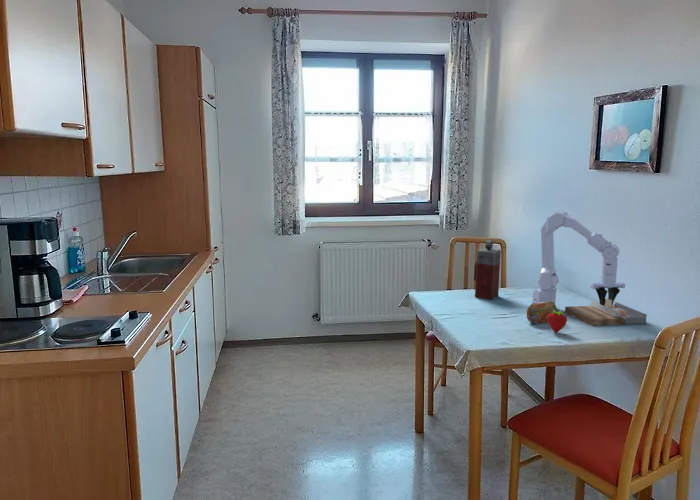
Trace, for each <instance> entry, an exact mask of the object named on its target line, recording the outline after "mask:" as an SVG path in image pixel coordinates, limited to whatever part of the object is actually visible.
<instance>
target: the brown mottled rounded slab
mask: <svg viewBox="0 0 700 500" xmlns="http://www.w3.org/2000/svg"><path fill="white" fill-rule="evenodd" d="M557 308H558V307H557V305H556V303H555V304H554V303H553V302H548V301H545V302H539V303H533V304H532V303H531V304H530V305H529V306H528V307H527V309H526V319H527V321H528V322H529V323H531V324H535V325H539V324H545V323H548V321H547V315H548V314H550V313H553V312H550V311H556V312H558V310H557Z"/></svg>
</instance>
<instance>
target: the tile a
mask: <svg viewBox="0 0 700 500" xmlns="http://www.w3.org/2000/svg"><path fill="white" fill-rule="evenodd" d="M611 308H614V309H616V310H618V311H620V316H622V317H625V316H626V313H627V311H625V310H623V309H620V308H615V307H611Z"/></svg>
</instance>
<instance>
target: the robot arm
mask: <svg viewBox="0 0 700 500" xmlns="http://www.w3.org/2000/svg"><path fill="white" fill-rule="evenodd" d="M561 227H563V228H570V229H572V230H574V231H575V232H576V233H578V234H580V235H581V236H582V237H583V238H585V239H586V240H587V241H586V243H587V244H588V245H589V246H591V247H592V248H593V249H595V250H596V251H597V252H598V253H601V256H602V257H603V259H602V264H601V276H600V281H599V282H593V283H590V289H592V290H595V291H596V293H597V296H598V299H599V301H598V302H599V303H600V304H601V305H604V304H605V298H608V299H611V300H612V304H611V305H613V304H614V303H615V299H616V298H617V296H618V294H619V293H620V292H621V290H620V288H621V289H625V288H626V283H624V282H617V274H618V273H617V271H618V260H619V259H618V256H619V255H620V248H619V246H618V245H617V244H614V243H613V242H612V241H609V240H608V239H606V238H605V237H603V234H602V233H598V232H592V231H591V230H589V229H588V228H587V227H586V226H585V225H584V224H582V223H581V222H580V221H579V220H577V219H576V217H574V216H572V215H571V214H568V212H567V211H564V210H561V211H558V212H557V211H556V212H553V213H551V214H550V215H549V216H547V217H546V220H545V222H544V223H543V225H542V227H541V230H540V236H541V237H540V238H541V241H540V242H541V245H540V246H541V271H540V277H539V280H538V287H539V288H537V289H534V290H533V292H532V303H531V304H533V303H539V302H545V301H548V302H553V303H554V304H555V305H556V300H557V299H556V298H557V285H558V283H559V277H558V275H557V270H556V268H555V251H554V250H555V247H554V246H555V245H554V242H555V241H554V233H555V232H556V231H557V230H558V229H559V228H561ZM607 294H608V295H607ZM607 296H608V297H607ZM556 308H557V311H560V308H559V307H556Z"/></svg>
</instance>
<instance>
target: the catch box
mask: <svg viewBox="0 0 700 500" xmlns="http://www.w3.org/2000/svg"><path fill="white" fill-rule="evenodd" d="M613 305H615V308H620V309H623V310H625V311H627V313H626V316H625V317H622V316H620V317H622V318H624V325H647V316H648V314H646V313H644V312H642V311H639V310H637V309H634V308H632V307H630V306H627V305H625V304H622V303H619V302H618V301H616V302H615V301H614V303H613Z"/></svg>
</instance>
